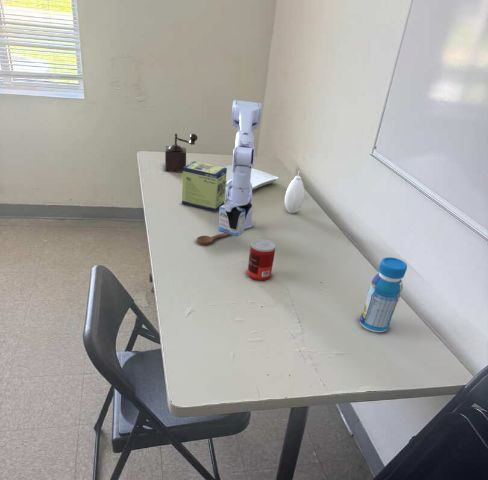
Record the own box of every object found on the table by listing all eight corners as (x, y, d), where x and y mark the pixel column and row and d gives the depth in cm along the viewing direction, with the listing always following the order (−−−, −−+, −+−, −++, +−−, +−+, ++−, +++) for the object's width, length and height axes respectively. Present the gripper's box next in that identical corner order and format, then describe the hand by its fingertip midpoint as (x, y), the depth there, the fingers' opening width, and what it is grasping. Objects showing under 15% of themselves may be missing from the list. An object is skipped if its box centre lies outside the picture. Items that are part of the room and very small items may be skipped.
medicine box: (218, 231, 152) (218, 206, 147) (224, 227, 155) (225, 203, 150) (238, 237, 149) (239, 212, 144) (244, 232, 152) (245, 208, 147)
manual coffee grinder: (164, 171, 217) (164, 132, 206) (164, 164, 226) (164, 127, 215) (196, 173, 219) (197, 135, 209) (195, 166, 228) (196, 129, 218)
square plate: (235, 170, 231) (235, 162, 229) (278, 184, 219) (280, 176, 217) (201, 180, 212) (201, 172, 210) (247, 196, 201) (248, 188, 198)
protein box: (215, 212, 182) (218, 174, 173) (181, 204, 185) (182, 166, 176) (224, 204, 190) (227, 167, 181) (191, 196, 193) (192, 160, 184)
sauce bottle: (292, 217, 186) (299, 174, 176) (279, 210, 191) (285, 168, 180) (304, 213, 191) (312, 171, 180) (291, 207, 195) (298, 166, 185)
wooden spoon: (224, 231, 167) (224, 229, 166) (233, 237, 164) (234, 234, 164) (193, 241, 158) (193, 238, 157) (203, 246, 155) (203, 243, 154)
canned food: (273, 272, 145) (278, 242, 139) (266, 283, 139) (271, 252, 133) (251, 267, 147) (255, 236, 140) (243, 277, 141) (247, 246, 134)
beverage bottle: (370, 335, 122) (392, 272, 110) (353, 318, 128) (371, 256, 116) (394, 330, 125) (418, 268, 113) (376, 314, 131) (396, 253, 119)
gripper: (241, 178, 148) (237, 216, 156) (217, 188, 138) (214, 229, 146) (259, 183, 146) (254, 222, 154) (237, 194, 135) (233, 235, 143)
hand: (236, 225), depth 150 cm, fingers closed on medicine box, 4 cm apart
